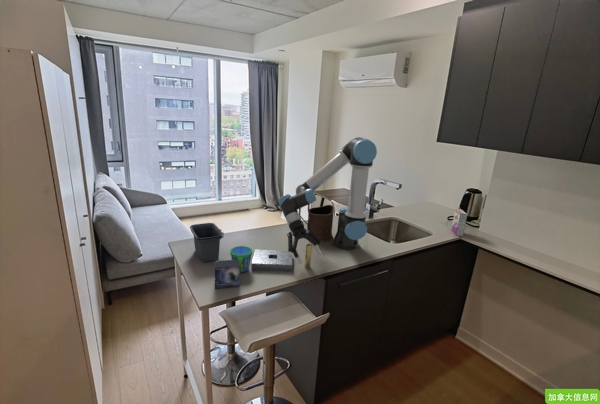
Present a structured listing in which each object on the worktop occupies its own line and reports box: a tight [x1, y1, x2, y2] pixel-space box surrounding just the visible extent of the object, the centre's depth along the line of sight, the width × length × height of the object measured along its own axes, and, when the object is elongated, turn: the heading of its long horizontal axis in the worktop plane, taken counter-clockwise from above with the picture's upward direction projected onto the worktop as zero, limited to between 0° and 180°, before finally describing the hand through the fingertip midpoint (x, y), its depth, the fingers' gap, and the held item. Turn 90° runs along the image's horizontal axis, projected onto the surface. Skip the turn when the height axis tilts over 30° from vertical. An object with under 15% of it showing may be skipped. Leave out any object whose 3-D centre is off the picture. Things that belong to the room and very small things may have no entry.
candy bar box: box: [451, 208, 468, 237], centre depth 215 cm, size 11×5×16 cm, turn 171°
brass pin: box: [304, 243, 313, 270], centre depth 154 cm, size 3×3×12 cm
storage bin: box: [189, 222, 225, 263], centre depth 160 cm, size 21×16×14 cm
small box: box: [214, 259, 240, 290], centre depth 134 cm, size 11×6×10 cm, turn 105°
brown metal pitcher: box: [298, 204, 335, 243], centre depth 192 cm, size 18×24×25 cm
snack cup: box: [229, 245, 253, 274], centre depth 148 cm, size 16×10×10 cm
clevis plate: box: [250, 248, 293, 272], centre depth 157 cm, size 20×16×4 cm
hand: (311, 260), depth 152 cm, fingers open, 12 cm apart
